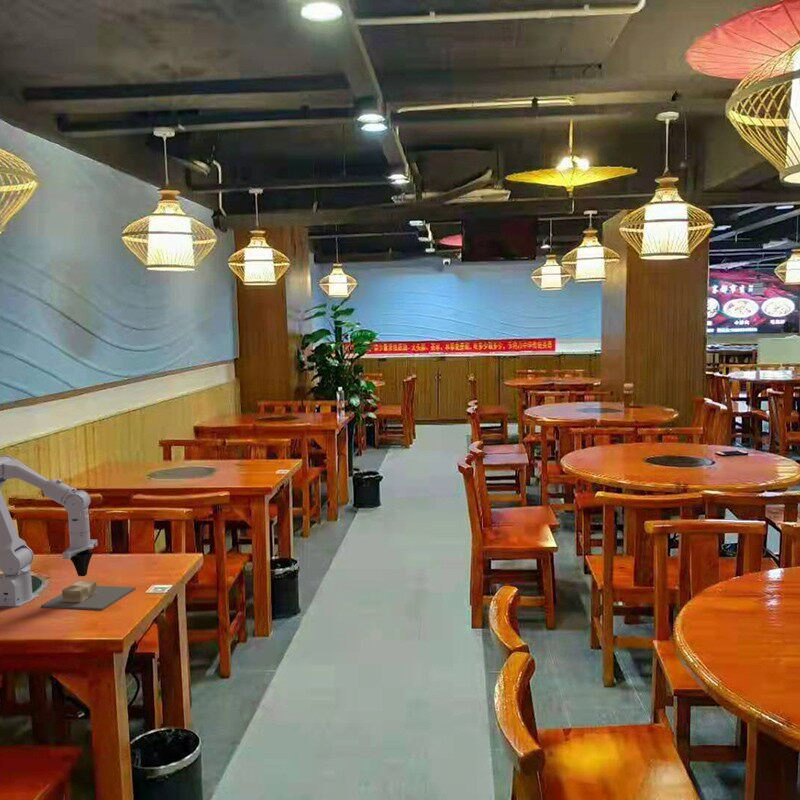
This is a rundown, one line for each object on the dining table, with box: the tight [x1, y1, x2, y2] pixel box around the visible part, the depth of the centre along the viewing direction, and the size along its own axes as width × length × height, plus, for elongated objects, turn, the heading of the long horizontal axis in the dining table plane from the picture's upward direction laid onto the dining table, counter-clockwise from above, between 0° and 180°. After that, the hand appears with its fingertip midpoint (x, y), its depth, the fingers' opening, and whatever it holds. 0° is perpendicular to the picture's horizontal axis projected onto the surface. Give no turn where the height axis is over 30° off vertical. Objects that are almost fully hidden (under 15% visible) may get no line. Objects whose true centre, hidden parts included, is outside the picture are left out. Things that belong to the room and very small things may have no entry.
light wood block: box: [61, 580, 97, 602], centre depth 227 cm, size 4×6×8 cm
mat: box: [40, 585, 136, 611], centre depth 229 cm, size 18×20×1 cm
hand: (82, 575), depth 229 cm, fingers closed
